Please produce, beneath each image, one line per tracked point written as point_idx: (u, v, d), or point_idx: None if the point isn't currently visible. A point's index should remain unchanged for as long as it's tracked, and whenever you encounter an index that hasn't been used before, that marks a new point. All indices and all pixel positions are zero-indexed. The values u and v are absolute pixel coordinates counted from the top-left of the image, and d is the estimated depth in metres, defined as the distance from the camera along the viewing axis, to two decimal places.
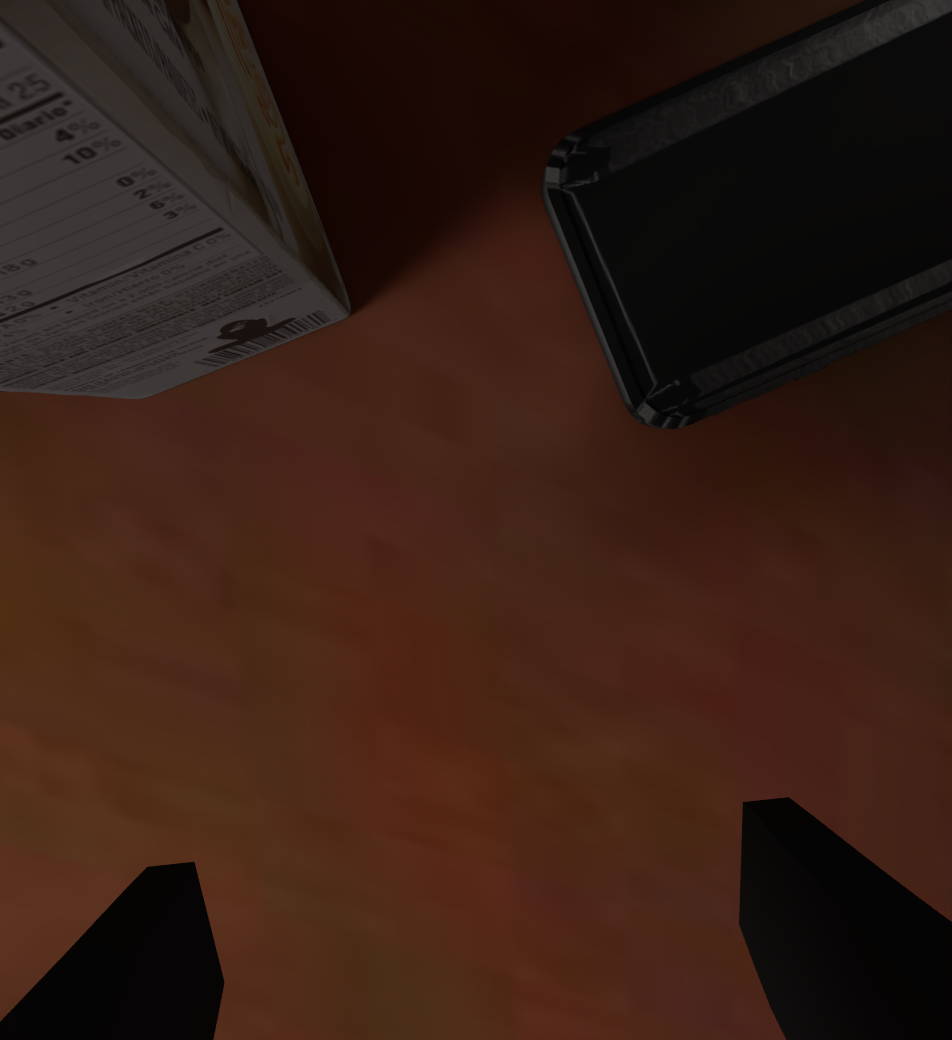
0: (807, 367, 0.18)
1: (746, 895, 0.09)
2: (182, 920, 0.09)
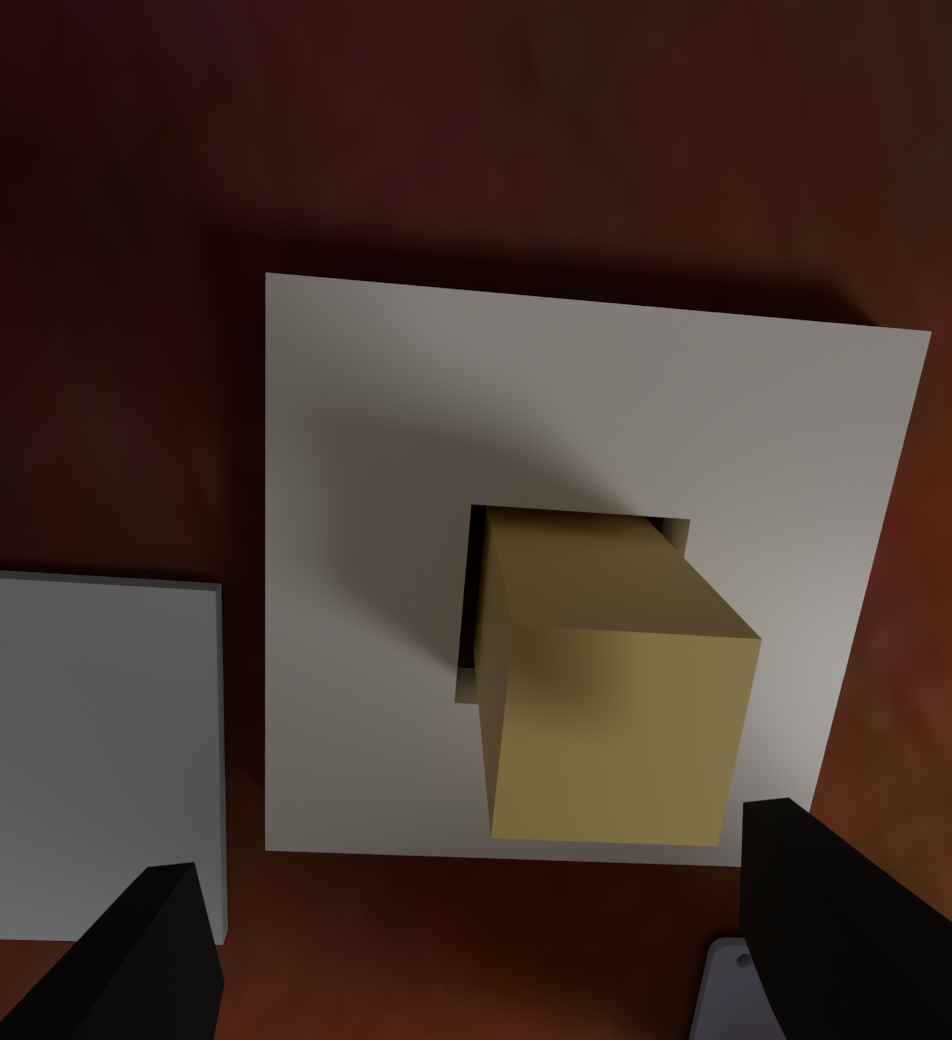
0: None
1: (746, 895, 0.09)
2: (182, 920, 0.09)
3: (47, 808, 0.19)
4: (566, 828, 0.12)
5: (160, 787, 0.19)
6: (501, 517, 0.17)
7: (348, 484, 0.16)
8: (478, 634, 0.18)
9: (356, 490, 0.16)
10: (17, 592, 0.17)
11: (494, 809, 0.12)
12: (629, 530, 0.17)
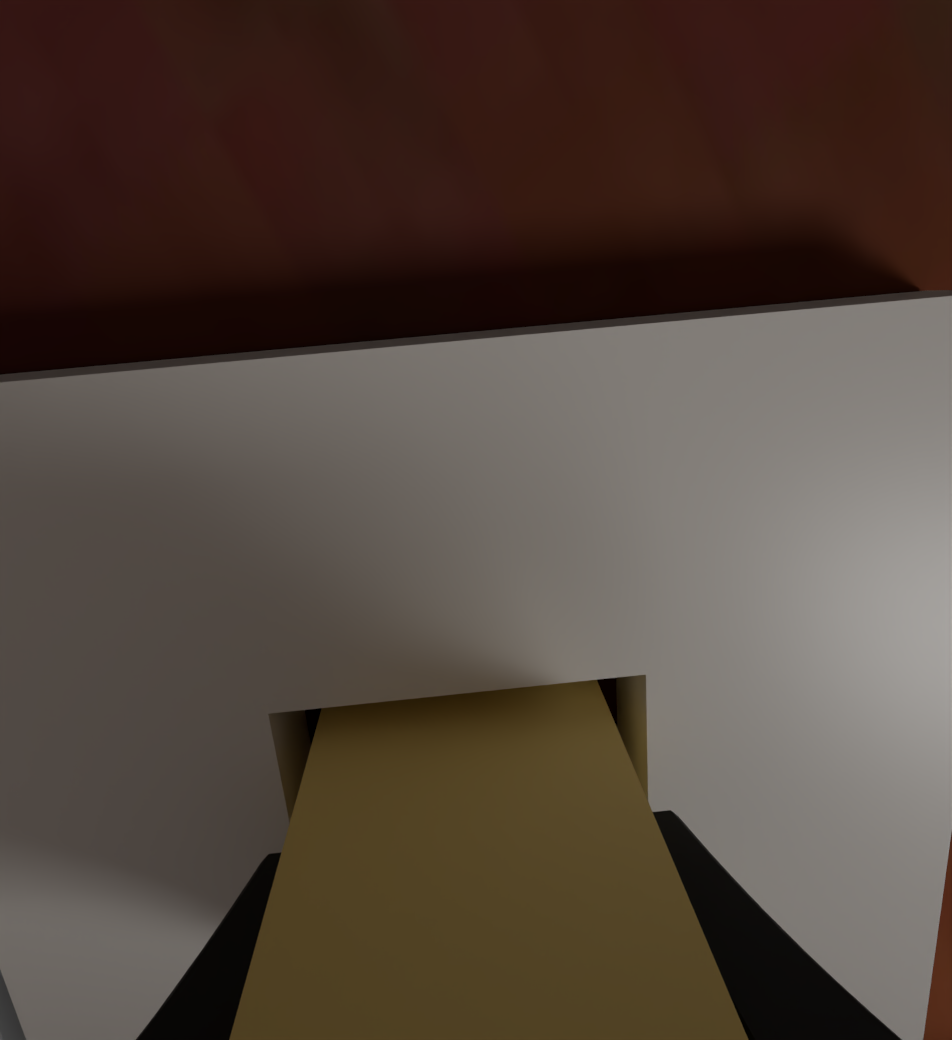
0: None
1: None
2: None
3: None
4: None
5: None
6: (340, 709, 0.10)
7: (53, 718, 0.09)
8: None
9: (69, 725, 0.09)
10: None
11: None
12: (551, 699, 0.10)
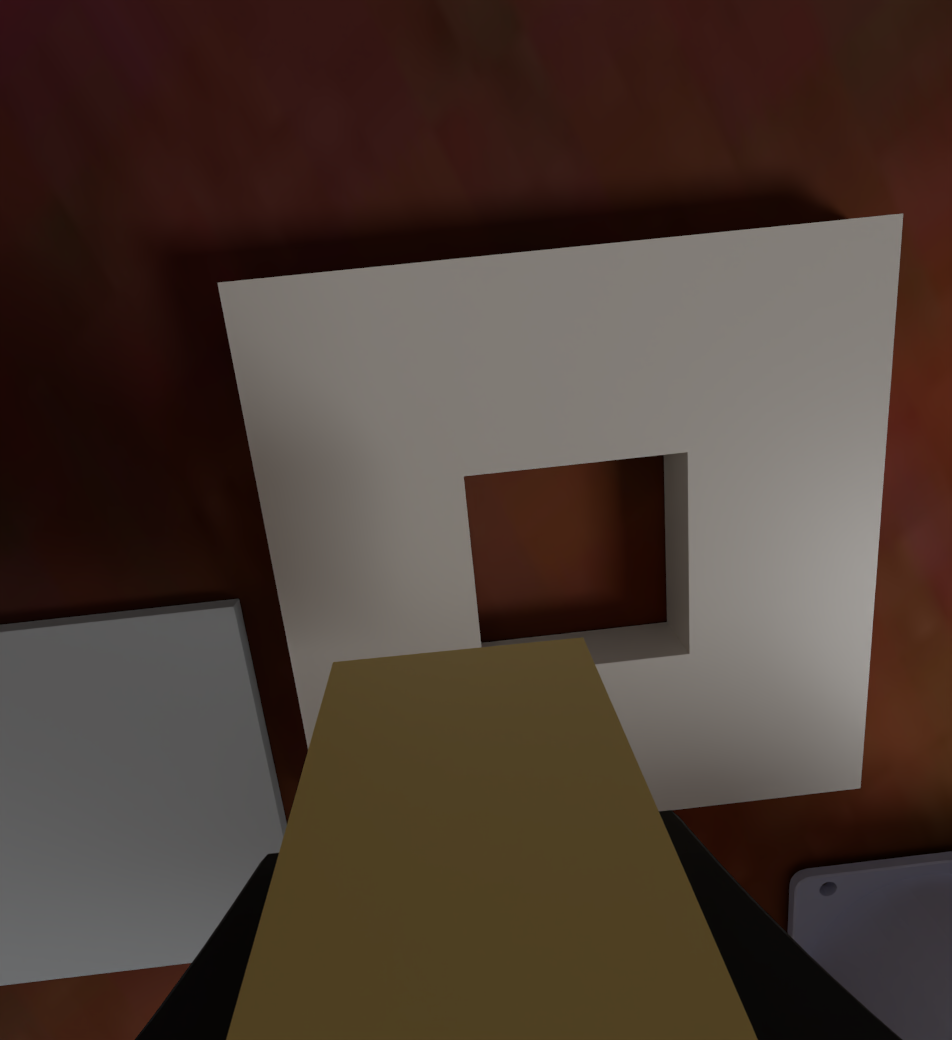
0: None
1: None
2: None
3: (115, 842, 0.20)
4: None
5: (218, 806, 0.20)
6: (342, 695, 0.10)
7: (338, 477, 0.16)
8: None
9: (347, 482, 0.16)
10: (46, 640, 0.18)
11: None
12: (551, 686, 0.10)
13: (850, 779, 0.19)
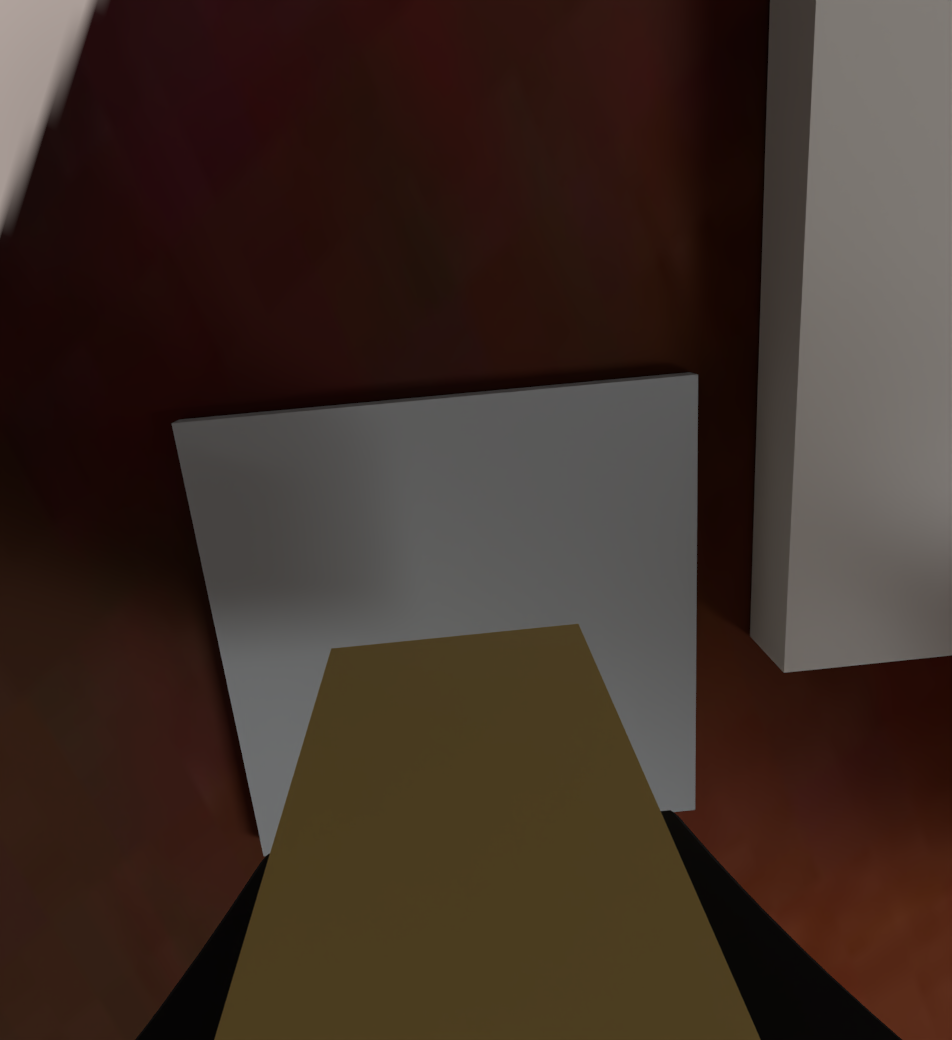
0: None
1: None
2: None
3: None
4: None
5: (631, 629, 0.17)
6: (340, 679, 0.11)
7: (904, 182, 0.13)
8: None
9: (913, 188, 0.13)
10: (477, 411, 0.15)
11: None
12: (546, 670, 0.10)
13: None
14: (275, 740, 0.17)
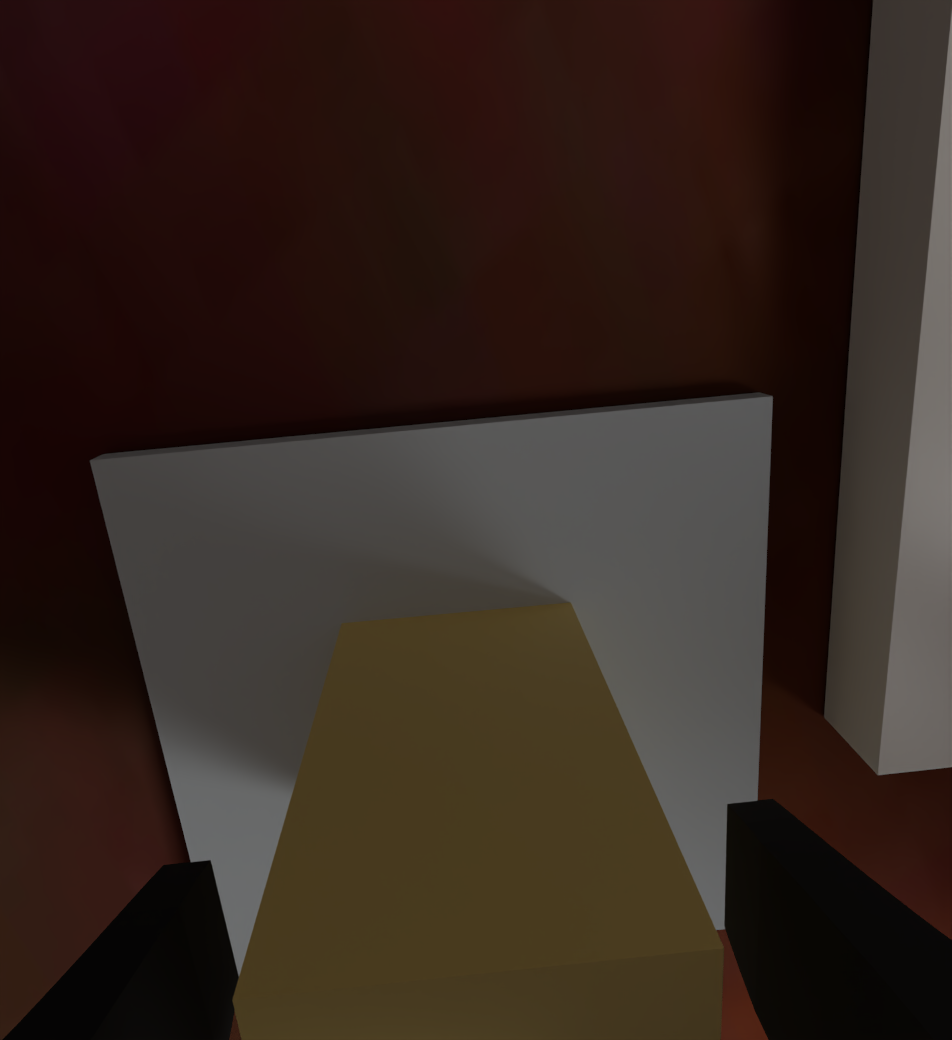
0: None
1: (731, 897, 0.09)
2: (199, 918, 0.09)
3: None
4: None
5: (679, 713, 0.13)
6: (350, 649, 0.11)
7: None
8: None
9: None
10: (487, 444, 0.12)
11: None
12: (540, 642, 0.11)
13: None
14: (233, 850, 0.14)
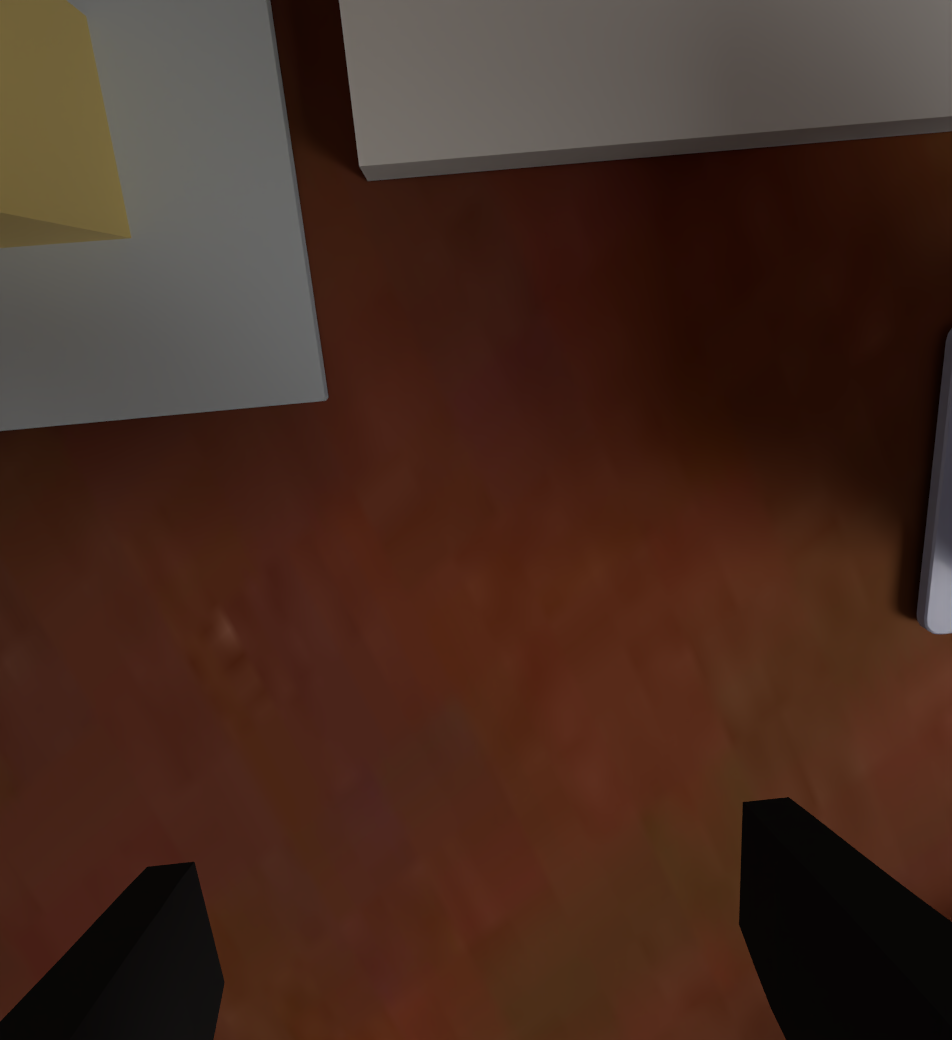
0: None
1: (746, 895, 0.09)
2: (182, 920, 0.09)
3: None
4: None
5: (211, 149, 0.15)
6: None
7: None
8: None
9: None
10: None
11: None
12: None
13: None
14: None
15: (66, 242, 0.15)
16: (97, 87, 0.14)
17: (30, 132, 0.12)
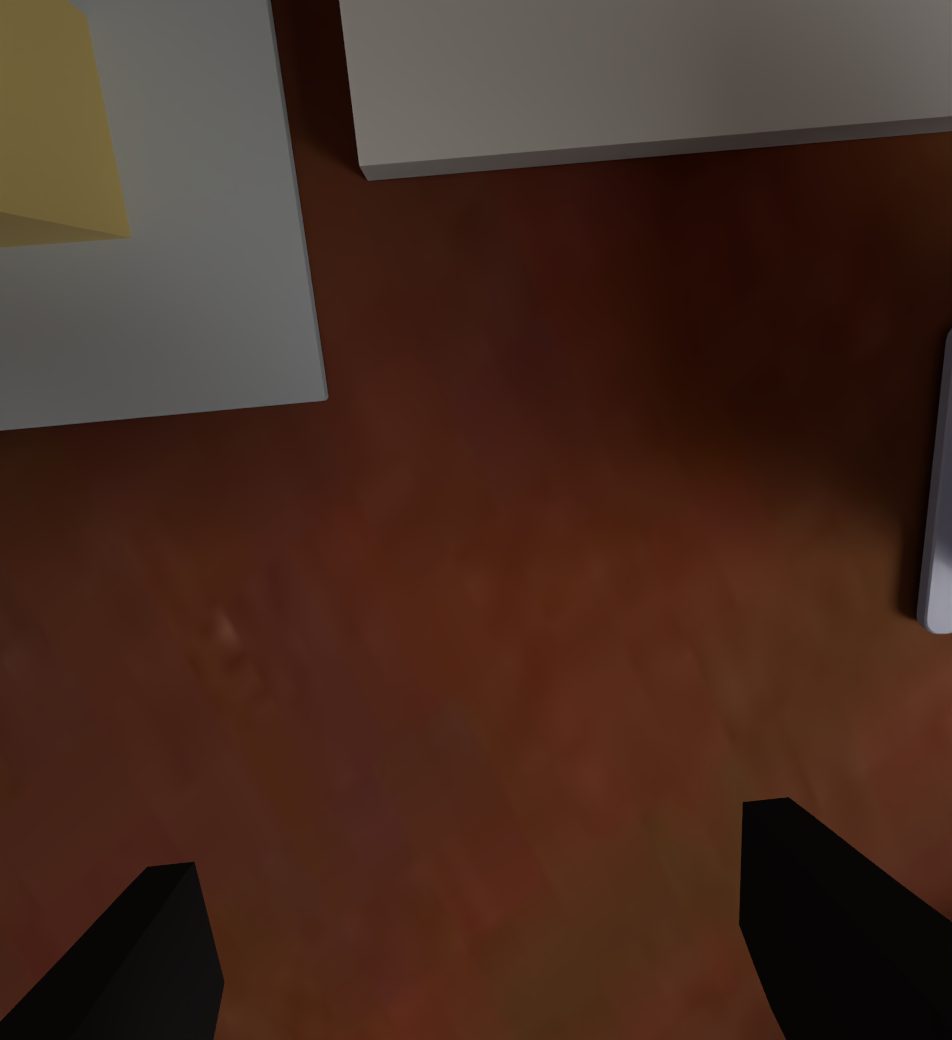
0: None
1: (746, 895, 0.09)
2: (182, 920, 0.09)
3: None
4: None
5: (211, 148, 0.15)
6: None
7: None
8: None
9: None
10: None
11: None
12: None
13: None
14: None
15: (66, 242, 0.15)
16: (97, 87, 0.14)
17: (30, 132, 0.12)
